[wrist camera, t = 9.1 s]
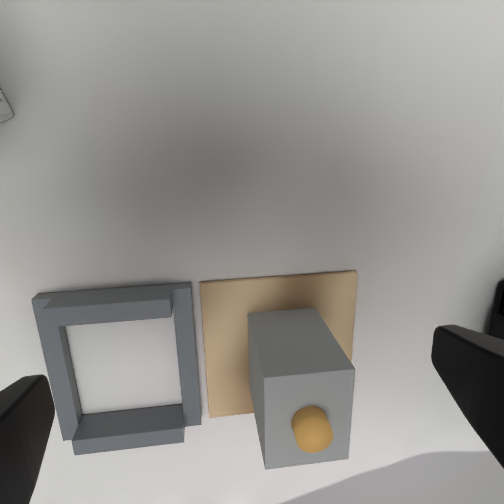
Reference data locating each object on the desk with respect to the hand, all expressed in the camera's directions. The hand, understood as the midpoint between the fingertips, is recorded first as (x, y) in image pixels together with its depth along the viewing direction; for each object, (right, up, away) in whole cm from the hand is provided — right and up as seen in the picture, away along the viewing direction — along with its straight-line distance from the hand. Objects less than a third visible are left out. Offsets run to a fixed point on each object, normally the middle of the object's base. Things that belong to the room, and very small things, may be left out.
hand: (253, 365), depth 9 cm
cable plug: (+2, -3, +14) cm, 14 cm away
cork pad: (+2, -3, +14) cm, 15 cm away
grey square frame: (-7, -4, +13) cm, 15 cm away
